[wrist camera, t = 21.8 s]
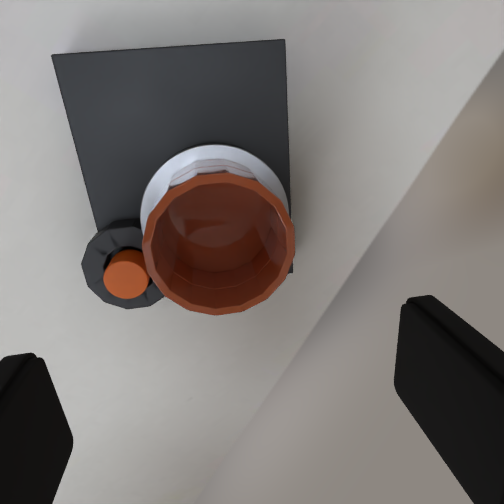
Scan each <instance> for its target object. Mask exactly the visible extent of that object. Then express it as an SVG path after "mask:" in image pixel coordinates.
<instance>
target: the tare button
mask: <svg viewBox="0 0 504 504" xmlns="http://www.w3.org/2000/svg"><path fill="white" fill-rule="evenodd" d="M149 279H150V276H149V274H148V272H147V269H146V264H145V259H144V255H143V253H142V252H140V251H137V250H133V249H126V250H122V251H120V252H118V253H117V254H115V255H114V257H113V258H112V260H111V261H110V263H109V265H108V267H107V268H106V270H105V272H104V276H103V280H104V284H105V286H106V288H107V290H108V291H109V292H110V293H111V294H113V295H114V296H116V297H119V298H123V299H131V298H135V297H137V296H139V295H141V294H142V293H143V292H144V291H145V290H146V288H147V286H148V282H149Z"/></svg>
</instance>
